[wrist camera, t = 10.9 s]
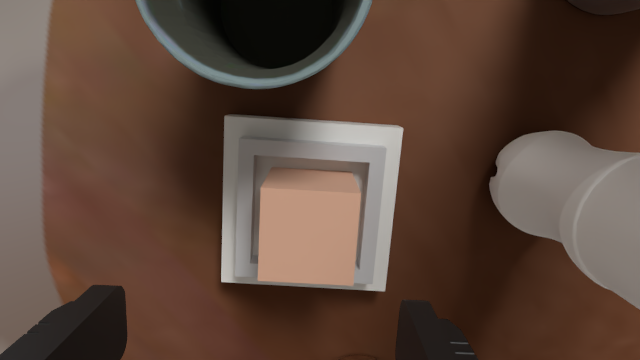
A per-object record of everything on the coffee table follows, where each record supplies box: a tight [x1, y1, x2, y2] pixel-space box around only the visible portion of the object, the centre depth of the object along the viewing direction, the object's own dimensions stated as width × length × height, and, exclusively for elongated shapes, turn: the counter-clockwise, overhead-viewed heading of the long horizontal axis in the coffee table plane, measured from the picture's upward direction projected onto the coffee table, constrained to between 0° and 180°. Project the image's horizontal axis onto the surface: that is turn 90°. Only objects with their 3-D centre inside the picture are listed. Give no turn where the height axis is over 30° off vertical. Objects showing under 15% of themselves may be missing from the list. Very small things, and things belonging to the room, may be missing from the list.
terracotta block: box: [258, 167, 361, 286], centre depth 26 cm, size 6×6×6 cm
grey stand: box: [221, 114, 403, 291], centre depth 29 cm, size 12×12×4 cm
